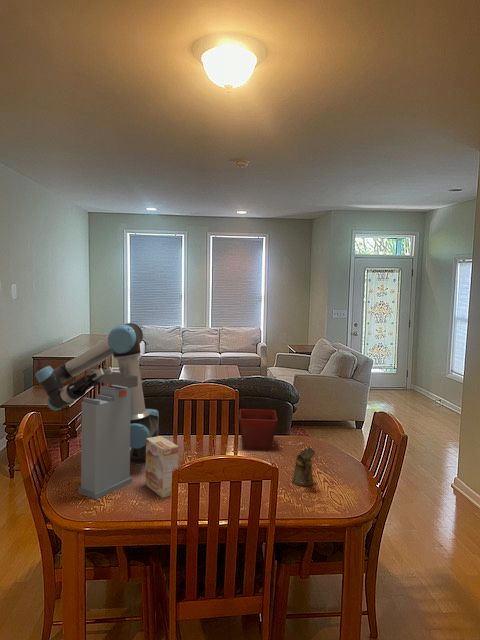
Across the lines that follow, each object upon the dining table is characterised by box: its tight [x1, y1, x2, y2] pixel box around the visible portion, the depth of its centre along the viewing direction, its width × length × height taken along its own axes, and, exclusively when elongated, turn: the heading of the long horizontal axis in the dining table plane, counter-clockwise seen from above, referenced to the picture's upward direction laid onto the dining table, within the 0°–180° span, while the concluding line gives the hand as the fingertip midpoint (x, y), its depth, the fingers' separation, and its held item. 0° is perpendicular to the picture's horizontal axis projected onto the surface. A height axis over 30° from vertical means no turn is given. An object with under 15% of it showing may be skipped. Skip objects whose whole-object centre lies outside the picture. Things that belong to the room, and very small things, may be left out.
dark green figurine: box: [291, 447, 315, 487], centre depth 195 cm, size 9×14×18 cm, turn 3°
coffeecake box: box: [144, 435, 179, 499], centre depth 186 cm, size 15×7×20 cm, turn 37°
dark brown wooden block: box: [87, 368, 138, 388], centre depth 188 cm, size 24×4×4 cm, turn 58°
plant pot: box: [238, 408, 278, 451], centre depth 241 cm, size 19×19×17 cm
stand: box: [77, 384, 133, 500], centre depth 185 cm, size 10×19×41 cm, turn 148°
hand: (106, 370), depth 190 cm, fingers closed on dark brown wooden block, 4 cm apart
